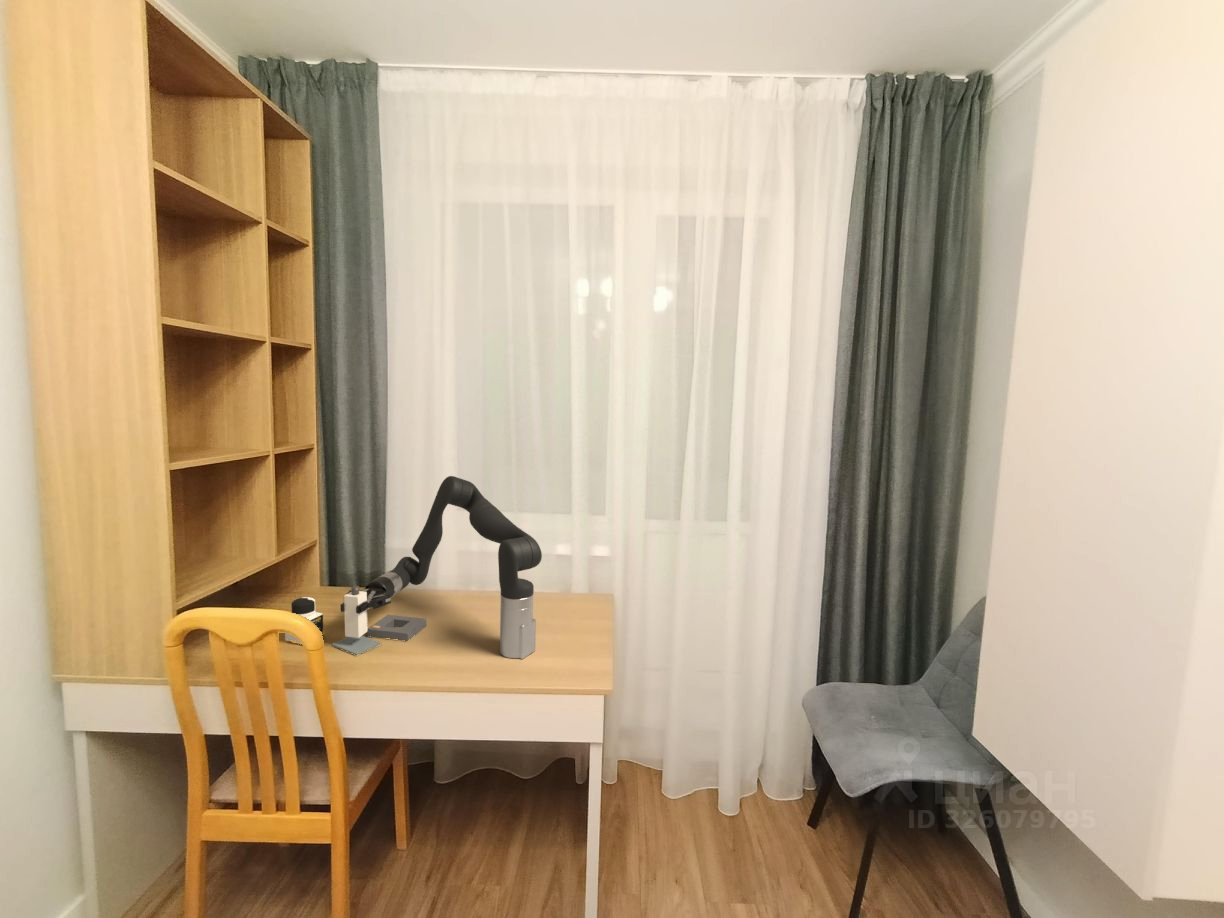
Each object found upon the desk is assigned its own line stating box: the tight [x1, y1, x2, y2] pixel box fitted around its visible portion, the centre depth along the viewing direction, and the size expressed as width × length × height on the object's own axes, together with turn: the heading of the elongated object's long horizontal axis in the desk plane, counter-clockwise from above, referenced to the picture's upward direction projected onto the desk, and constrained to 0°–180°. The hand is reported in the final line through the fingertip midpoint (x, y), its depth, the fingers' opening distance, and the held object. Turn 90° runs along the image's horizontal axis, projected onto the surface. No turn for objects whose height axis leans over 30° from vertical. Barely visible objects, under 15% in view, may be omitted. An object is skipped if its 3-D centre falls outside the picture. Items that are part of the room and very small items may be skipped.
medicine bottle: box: [284, 596, 324, 646], centre depth 162 cm, size 7×7×12 cm
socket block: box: [366, 614, 427, 642], centre depth 169 cm, size 13×11×3 cm
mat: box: [331, 635, 382, 656], centre depth 159 cm, size 11×8×1 cm
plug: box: [343, 585, 368, 638], centre depth 158 cm, size 4×4×14 cm
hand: (349, 609), depth 155 cm, fingers closed on plug, 4 cm apart
